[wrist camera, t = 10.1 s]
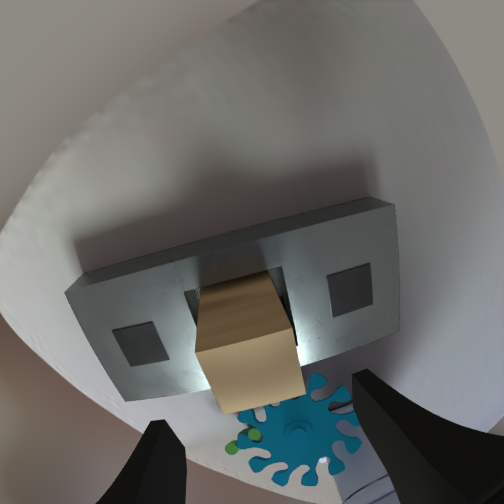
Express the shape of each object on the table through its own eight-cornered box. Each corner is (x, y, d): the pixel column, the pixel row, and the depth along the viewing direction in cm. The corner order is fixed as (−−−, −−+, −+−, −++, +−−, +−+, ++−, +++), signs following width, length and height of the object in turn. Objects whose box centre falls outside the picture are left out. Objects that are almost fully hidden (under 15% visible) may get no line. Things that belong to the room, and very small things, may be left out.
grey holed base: (380, 311, 21) (399, 331, 18) (133, 375, 21) (125, 402, 18) (370, 197, 18) (395, 204, 15) (82, 273, 18) (63, 293, 15)
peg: (275, 313, 20) (306, 393, 13) (219, 328, 20) (223, 414, 13) (262, 260, 19) (292, 327, 11) (201, 277, 19) (194, 353, 11)
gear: (350, 356, 20) (374, 473, 16) (343, 360, 26) (363, 455, 21) (210, 386, 22) (233, 498, 17) (230, 385, 27) (249, 477, 22)
